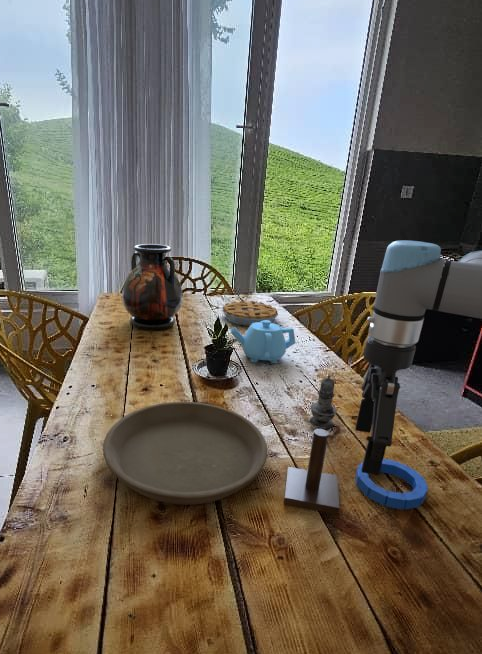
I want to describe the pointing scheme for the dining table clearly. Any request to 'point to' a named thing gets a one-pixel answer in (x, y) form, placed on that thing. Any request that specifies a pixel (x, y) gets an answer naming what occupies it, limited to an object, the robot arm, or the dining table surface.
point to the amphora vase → (152, 288)
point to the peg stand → (313, 481)
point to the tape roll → (394, 498)
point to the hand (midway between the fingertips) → (366, 450)
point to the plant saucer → (185, 452)
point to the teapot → (265, 341)
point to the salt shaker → (324, 405)
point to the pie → (249, 312)
